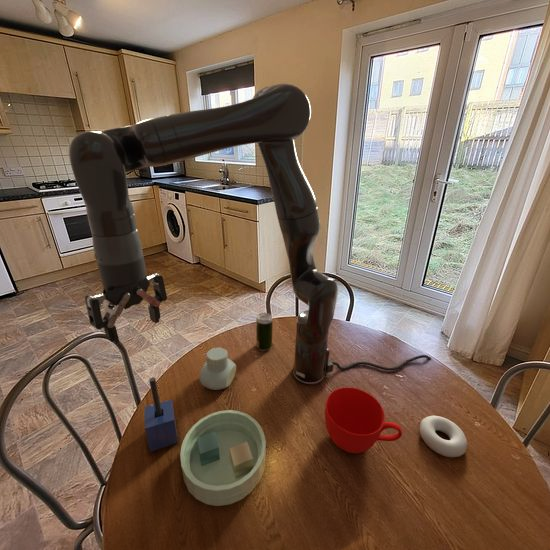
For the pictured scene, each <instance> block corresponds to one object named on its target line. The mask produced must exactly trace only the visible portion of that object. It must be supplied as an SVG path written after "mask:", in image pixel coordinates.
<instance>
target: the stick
mask: <svg viewBox="0 0 550 550" xmlns="http://www.w3.org/2000/svg"><path fill="white" fill-rule="evenodd" d="M148 382H149V386H150V387H149V388H150V392H151V396H152V402H153V405H154V406H155V411H156V416H157V417H160V416H162V411H161V405H160V403H161V400H160V396H159V390H158V385H157V380H156V377H153V376H152V377H150V378H149V380H148Z"/></svg>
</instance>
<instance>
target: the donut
mask: <svg viewBox="0 0 550 550" xmlns="http://www.w3.org/2000/svg"><path fill="white" fill-rule="evenodd" d="M436 431H437V432H442V433H444V434H445V435H447V437H448V438H449V439H444V438H442V437H440V436H439V435H438V434H437V432H436ZM419 433H420V437H421V439H422V440H423V442H424V443H425V445H427V447H429V448H430V449H431V450H432V451H434V452H435V453H436V454H438V455H441V456H443V457H448V458H456V457H462V456H463V455H464V454H465V453H466V451H467V448H468V440H467V438H466V435H465V433H464V431H463V430H462V429H461V428H460V427H459V426H458V425H457V424H456V423H455V422H453V421H452V420H450V419H449V418H446V417H443V416H440V415H428V416H426V417H424V418H422V420H421V421H420V423H419Z"/></svg>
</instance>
